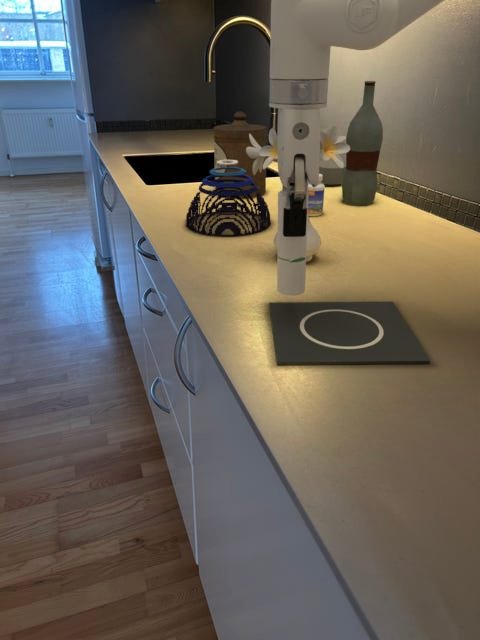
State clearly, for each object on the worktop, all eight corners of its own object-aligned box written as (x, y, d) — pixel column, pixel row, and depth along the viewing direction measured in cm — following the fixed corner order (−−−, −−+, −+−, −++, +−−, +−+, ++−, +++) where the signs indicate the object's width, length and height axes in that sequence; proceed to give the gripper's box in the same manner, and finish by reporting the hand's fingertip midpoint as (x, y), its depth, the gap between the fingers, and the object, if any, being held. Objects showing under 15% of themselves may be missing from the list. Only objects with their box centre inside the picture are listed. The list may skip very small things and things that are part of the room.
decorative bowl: (273, 236, 114) (275, 170, 107) (183, 237, 114) (179, 170, 107) (268, 211, 131) (269, 153, 125) (190, 212, 131) (187, 154, 125)
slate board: (392, 304, 83) (392, 300, 82) (429, 363, 67) (430, 359, 66) (268, 305, 83) (269, 301, 82) (276, 365, 67) (277, 360, 66)
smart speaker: (311, 181, 162) (313, 135, 156) (338, 180, 164) (342, 134, 157) (320, 188, 154) (324, 139, 148) (349, 186, 156) (354, 138, 149)
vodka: (356, 196, 145) (368, 79, 131) (382, 202, 139) (397, 81, 125) (333, 201, 140) (343, 81, 126) (359, 208, 134) (372, 82, 120)
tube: (274, 294, 78) (274, 196, 71) (280, 283, 82) (281, 189, 75) (302, 297, 77) (305, 197, 70) (307, 285, 80) (310, 190, 74)
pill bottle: (302, 216, 127) (304, 177, 123) (299, 210, 132) (301, 172, 128) (324, 216, 127) (327, 176, 123) (320, 210, 132) (323, 172, 128)
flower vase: (250, 246, 108) (250, 120, 97) (338, 249, 106) (350, 120, 94) (242, 268, 97) (242, 129, 85) (341, 273, 94) (354, 130, 83)
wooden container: (217, 186, 157) (215, 109, 147) (265, 186, 156) (266, 109, 146) (213, 198, 144) (210, 114, 134) (265, 198, 143) (267, 114, 133)
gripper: (338, 99, 59) (327, 250, 67) (317, 90, 74) (310, 214, 82) (273, 100, 59) (270, 250, 67) (265, 90, 74) (263, 214, 82)
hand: (292, 229), depth 75 cm, fingers closed on tube, 4 cm apart
